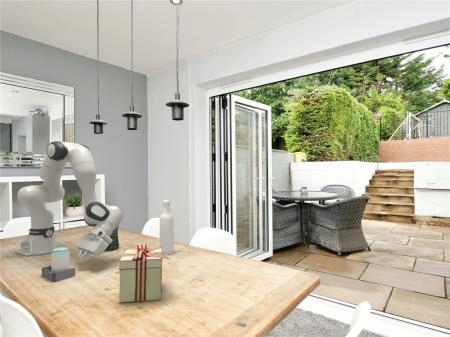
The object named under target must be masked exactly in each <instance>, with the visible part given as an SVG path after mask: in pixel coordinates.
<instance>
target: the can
mask: <svg viewBox="0 0 450 337" xmlns="http://www.w3.org/2000/svg"><path fill="white" fill-rule="evenodd" d="M50 256H51V266H52V271H53V272H55V273H56V272H59V271H63V270H67V269H71V268H70V266H71V265H70V262H71V260H70V258H71V252H70V250H69V248H68V247H66V246H65V247H58V248H56V249H54V250H53V252H51V255H50Z"/></svg>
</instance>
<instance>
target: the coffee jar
mask: <svg viewBox="0 0 450 337" xmlns="http://www.w3.org/2000/svg"><path fill="white" fill-rule="evenodd" d="M119 226H120V224H119V225H118V226H117V228H116V229H114V230H113V232H112V234H111V235H110V238H111V239H112V242H111V243H110V244H109V245H108V247H107V248H106V249H105V251H104V252H110V251H116V250H118V249H119V248H120V244H119Z"/></svg>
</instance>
